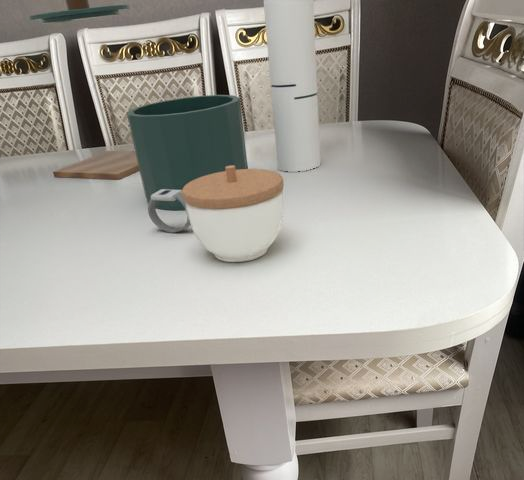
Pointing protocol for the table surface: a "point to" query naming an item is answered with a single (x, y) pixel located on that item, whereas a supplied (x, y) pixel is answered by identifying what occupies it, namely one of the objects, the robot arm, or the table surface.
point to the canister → (186, 141)
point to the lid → (78, 12)
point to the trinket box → (236, 212)
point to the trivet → (102, 166)
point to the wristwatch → (166, 196)
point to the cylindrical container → (293, 82)
